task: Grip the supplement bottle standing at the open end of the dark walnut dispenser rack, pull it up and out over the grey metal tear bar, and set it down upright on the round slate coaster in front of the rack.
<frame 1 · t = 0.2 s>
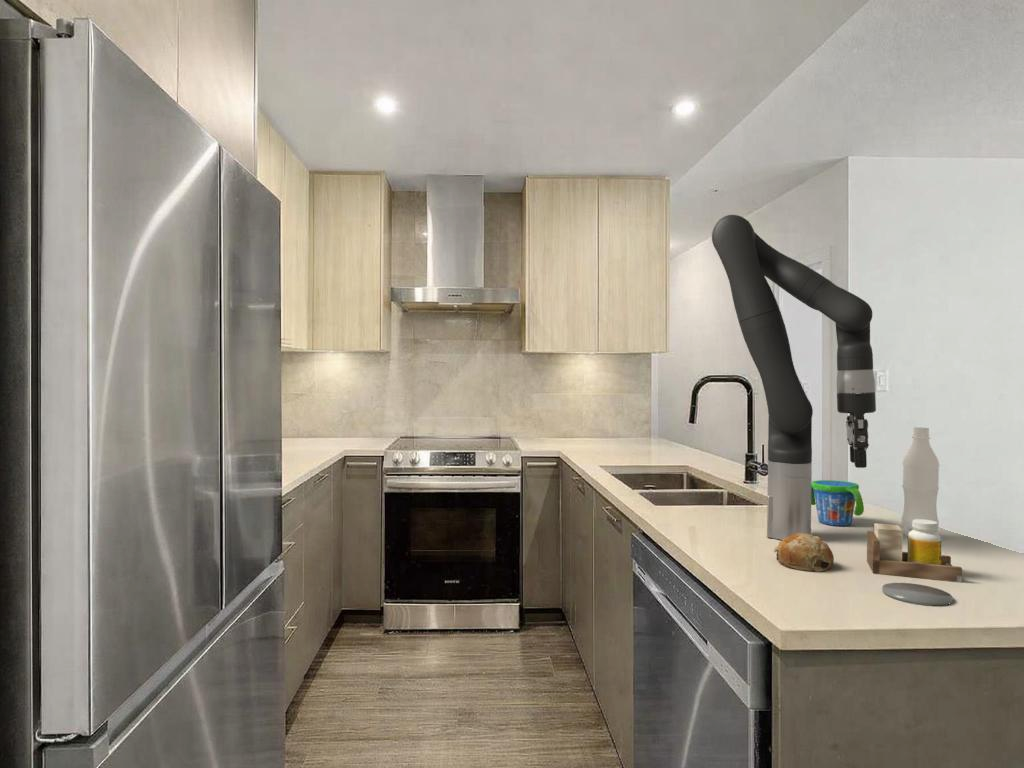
hand: (858, 465, 146), 17 cm above the countertop, tool pointing down, fingers open, 8 cm apart
supplement bottle: (924, 573, 125), resting in rack
rack: (911, 571, 125), on the countertop
bread roll: (802, 566, 130), on the countertop
water bottle: (919, 537, 153), on the countertop
coaster: (916, 595, 111), on the countertop
snack cup: (834, 524, 166), on the countertop
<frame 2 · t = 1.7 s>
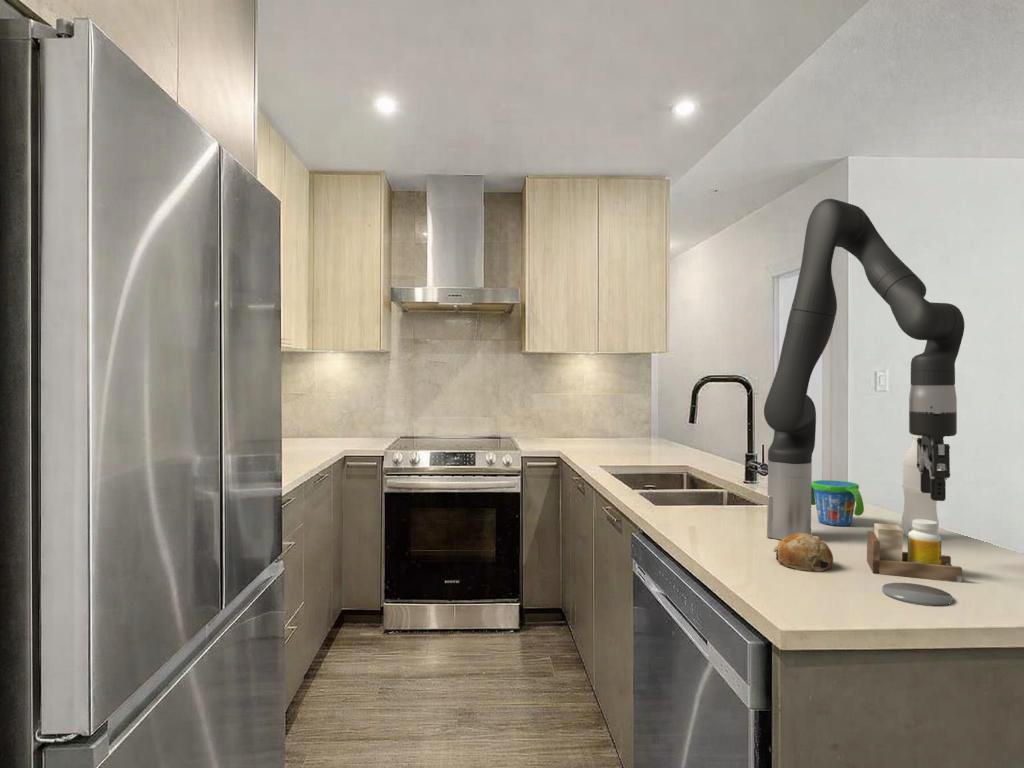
hand: (932, 496, 124), 14 cm above the countertop, tool pointing down, fingers open, 8 cm apart
nothing on the countertop moved.
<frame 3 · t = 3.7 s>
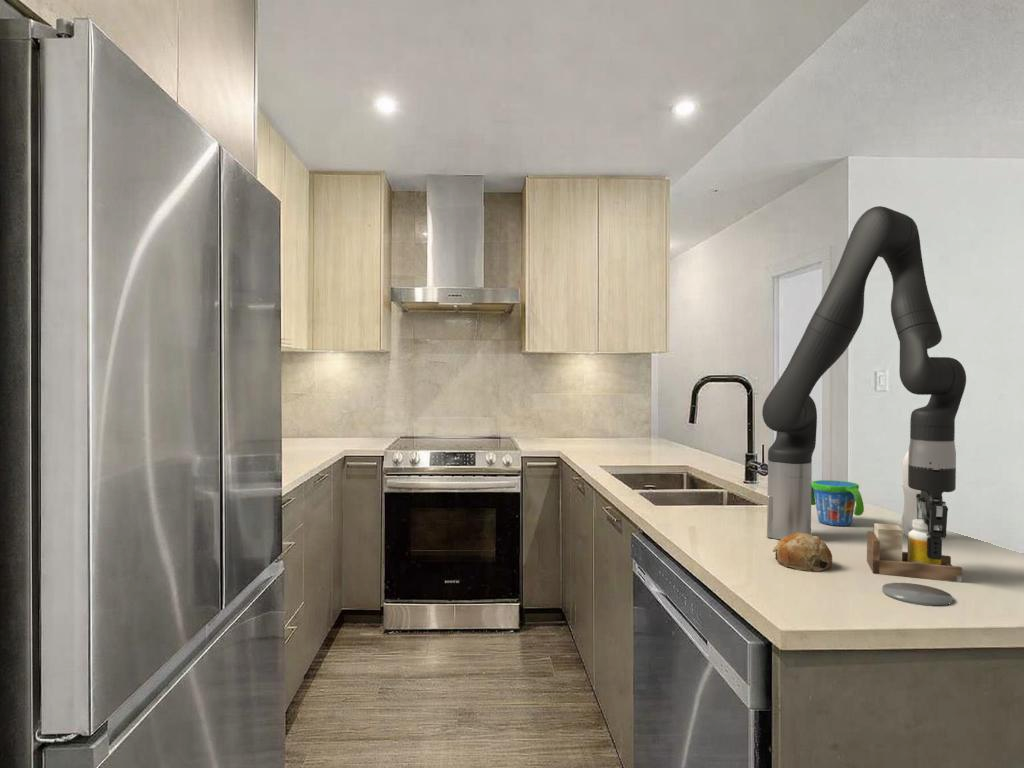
hand: (930, 554, 124), 3 cm above the countertop, tool pointing down, fingers closed on supplement bottle, 5 cm apart
supplement bottle: (924, 573, 125), resting in rack, touching gripper
everything else where it was.
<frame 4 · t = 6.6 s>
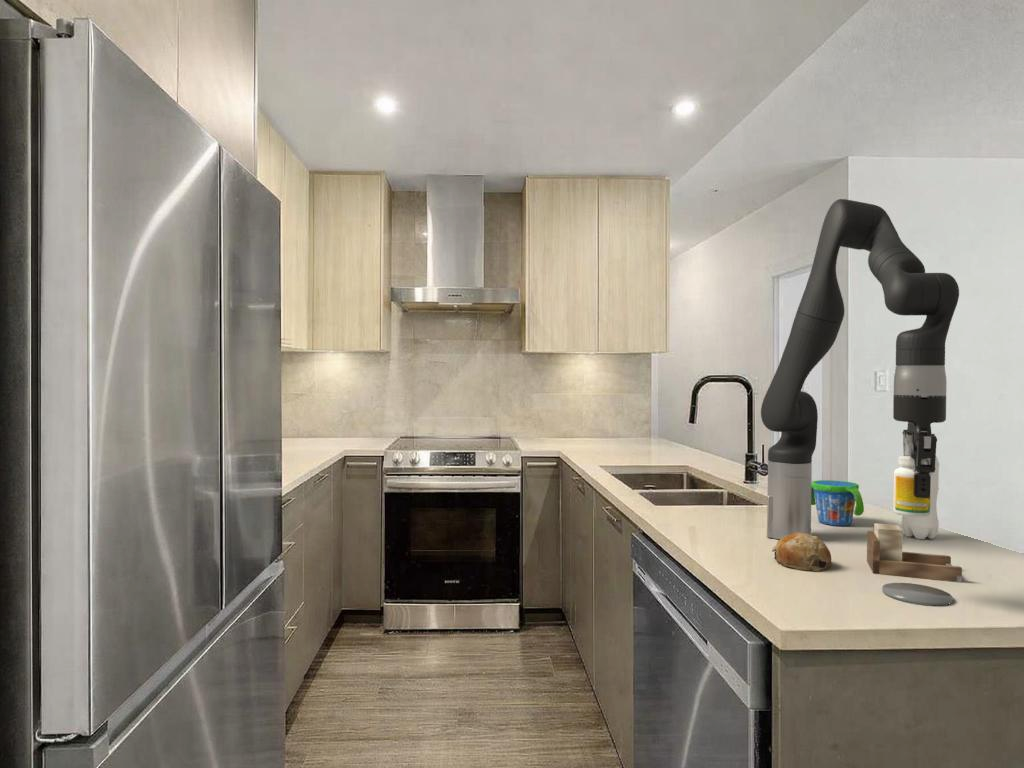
hand: (918, 493, 111), 17 cm above the countertop, tool pointing down, fingers closed on supplement bottle, 5 cm apart
supplement bottle: (911, 515, 112), point 13 cm above the countertop, touching gripper
everything else where it was.
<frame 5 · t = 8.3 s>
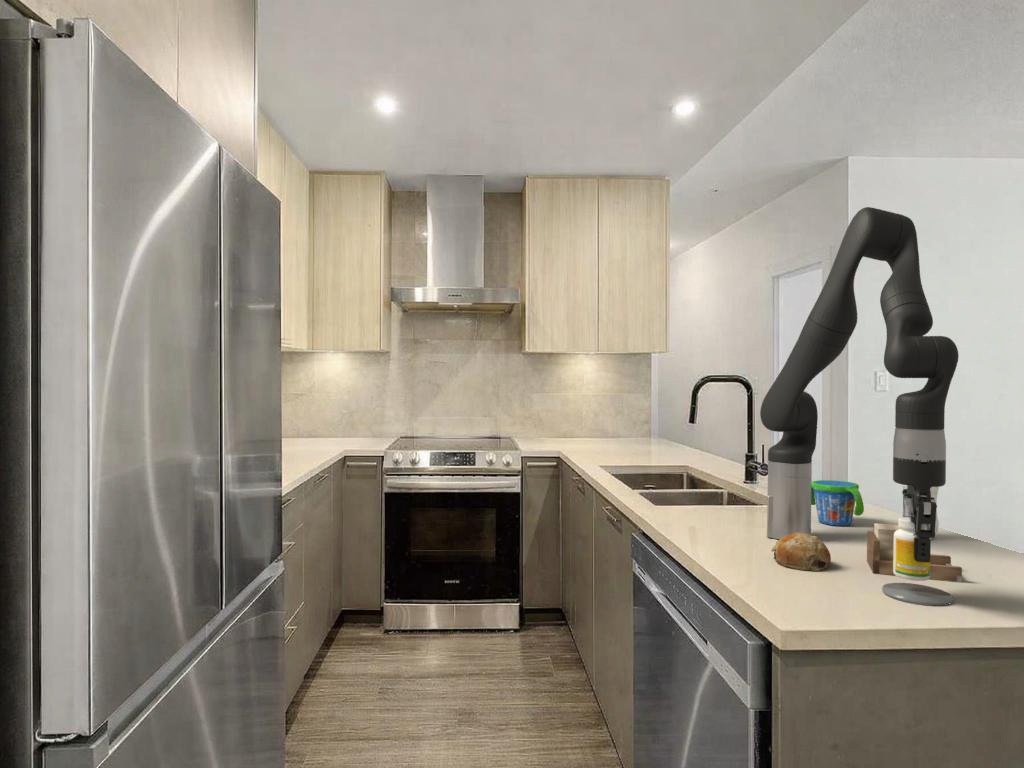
hand: (918, 556, 111), 7 cm above the countertop, tool pointing down, fingers closed on supplement bottle, 5 cm apart
supplement bottle: (911, 577, 112), point 3 cm above the countertop, touching gripper
everything else where it was.
when the fingers open (5 cm above the countertop, at t = 9.6 s): supplement bottle stays where it is, resting on coaster.
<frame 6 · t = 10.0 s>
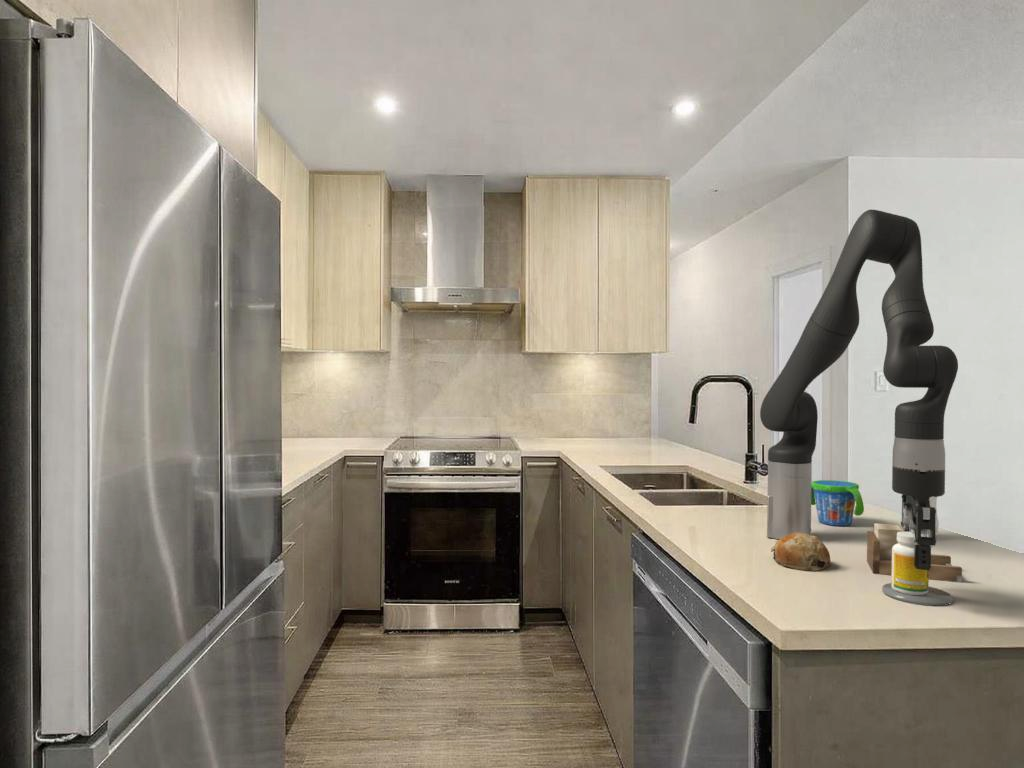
hand: (917, 562, 111), 6 cm above the countertop, tool pointing down, fingers open, 8 cm apart
supplement bottle: (909, 592, 112), resting on coaster
everything else where it was.
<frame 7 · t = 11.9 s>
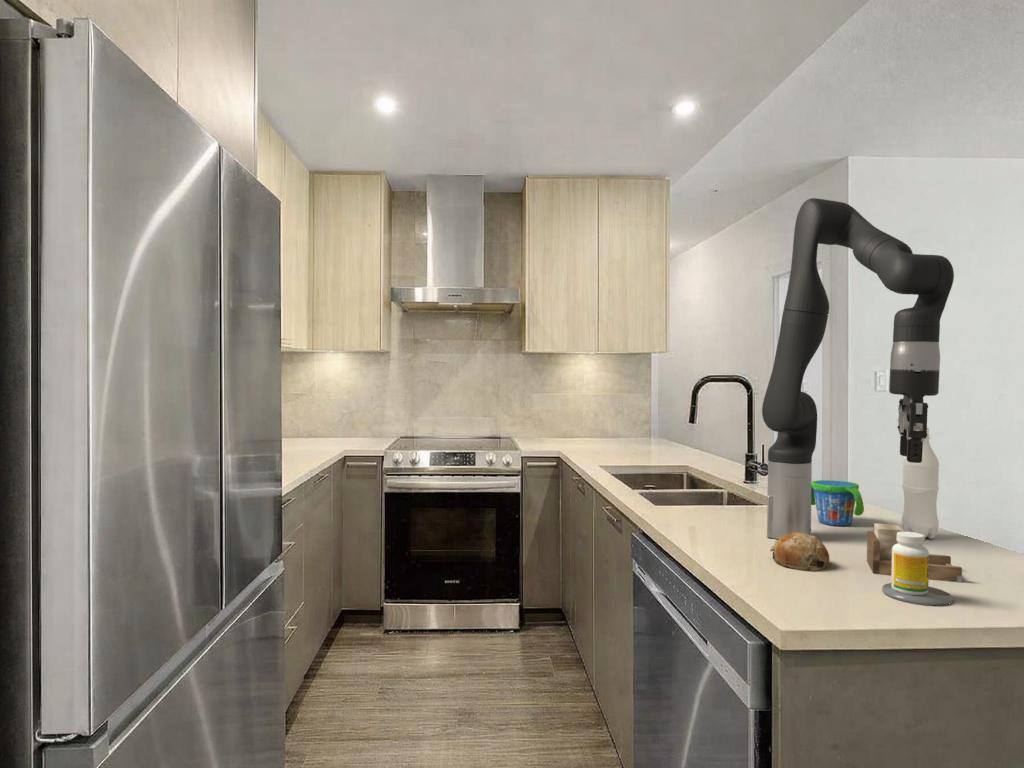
hand: (910, 459, 118), 22 cm above the countertop, tool pointing down, fingers open, 8 cm apart
nothing on the countertop moved.
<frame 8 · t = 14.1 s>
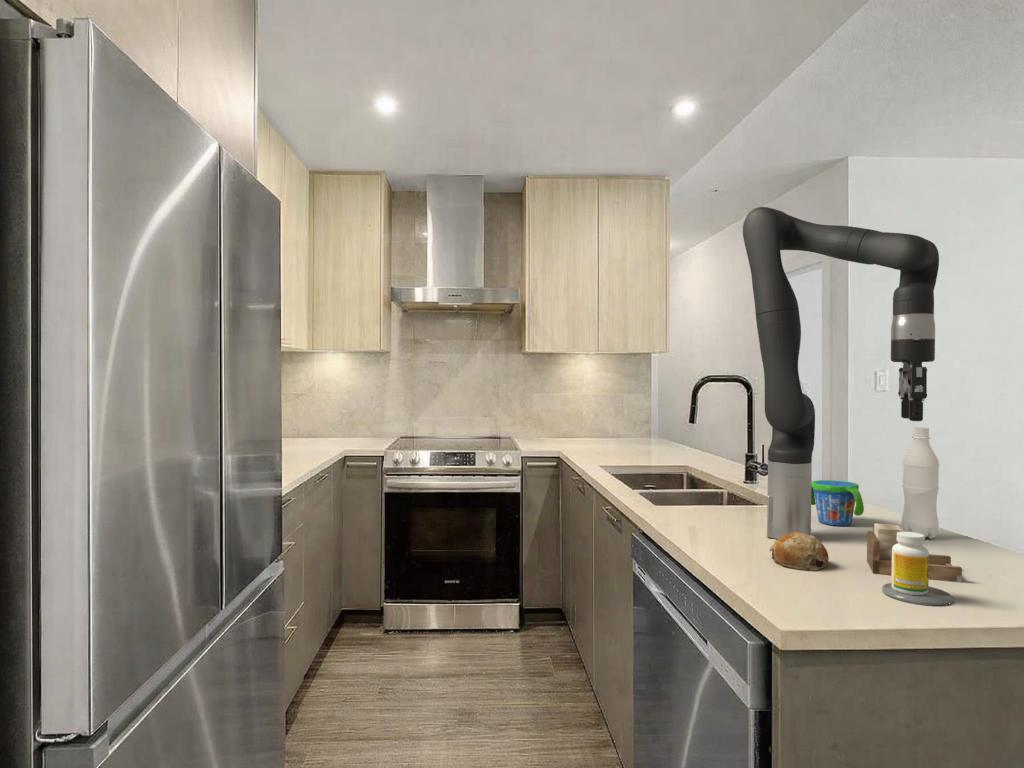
hand: (911, 419, 132), 28 cm above the countertop, tool pointing down, fingers open, 8 cm apart
nothing on the countertop moved.
at the end: supplement bottle 1.0 cm from the coaster (horizontally); supplement bottle tilted 0°; the gripper is holding nothing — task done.
